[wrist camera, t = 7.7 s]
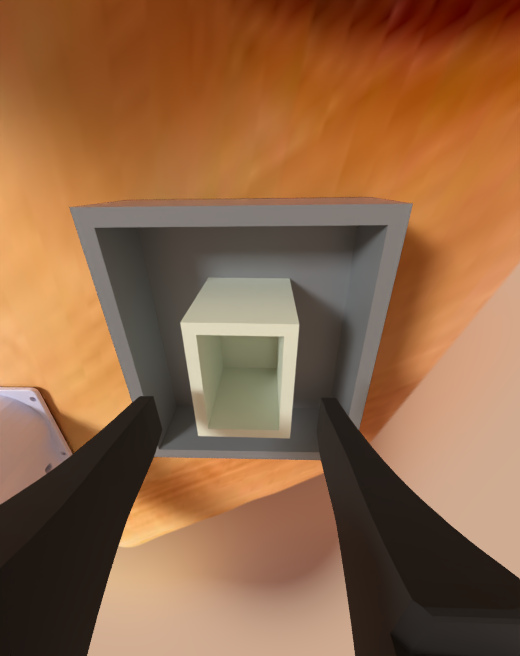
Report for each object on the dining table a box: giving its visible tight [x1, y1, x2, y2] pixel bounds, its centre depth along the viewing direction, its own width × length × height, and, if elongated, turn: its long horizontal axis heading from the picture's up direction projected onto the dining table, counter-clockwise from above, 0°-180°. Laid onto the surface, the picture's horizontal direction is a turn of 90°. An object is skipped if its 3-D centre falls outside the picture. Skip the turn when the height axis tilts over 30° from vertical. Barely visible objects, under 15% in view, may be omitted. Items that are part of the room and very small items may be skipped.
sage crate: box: [180, 278, 299, 438], centre depth 16 cm, size 7×5×6 cm
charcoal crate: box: [69, 197, 413, 460], centre depth 17 cm, size 16×14×5 cm
